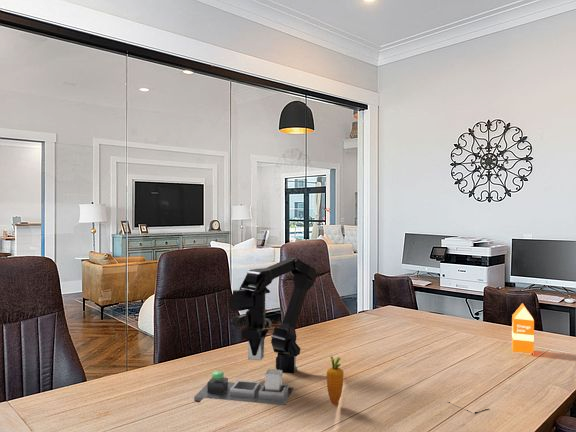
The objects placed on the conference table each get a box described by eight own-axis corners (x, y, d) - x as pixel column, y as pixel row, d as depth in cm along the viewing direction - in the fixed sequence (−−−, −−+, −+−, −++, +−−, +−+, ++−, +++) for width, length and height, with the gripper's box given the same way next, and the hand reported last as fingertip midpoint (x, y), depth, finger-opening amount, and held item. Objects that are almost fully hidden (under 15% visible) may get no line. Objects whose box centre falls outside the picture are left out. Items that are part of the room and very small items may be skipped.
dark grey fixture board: (293, 391, 151) (293, 378, 151) (285, 409, 138) (285, 394, 138) (210, 384, 157) (210, 371, 157) (194, 400, 143) (194, 386, 143)
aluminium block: (263, 356, 161) (264, 336, 161) (260, 360, 157) (261, 339, 157) (251, 355, 162) (251, 335, 162) (247, 359, 158) (248, 338, 158)
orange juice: (512, 353, 195) (513, 305, 195) (511, 348, 204) (512, 301, 203) (533, 356, 192) (534, 307, 192) (531, 350, 201) (532, 303, 200)
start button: (225, 376, 150) (225, 371, 150) (221, 380, 147) (221, 375, 147) (214, 375, 151) (214, 370, 151) (210, 379, 147) (210, 374, 147)
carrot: (325, 403, 142) (325, 353, 142) (341, 403, 142) (342, 353, 142) (327, 410, 137) (328, 358, 137) (344, 410, 138) (345, 358, 137)
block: (282, 392, 147) (282, 370, 147) (279, 397, 143) (279, 374, 143) (268, 391, 148) (268, 368, 148) (264, 396, 144) (265, 373, 144)
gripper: (241, 301, 170) (241, 344, 170) (225, 311, 152) (224, 360, 152) (271, 302, 168) (271, 346, 168) (258, 313, 150) (258, 362, 150)
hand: (256, 353), depth 160 cm, fingers closed on aluminium block, 4 cm apart
